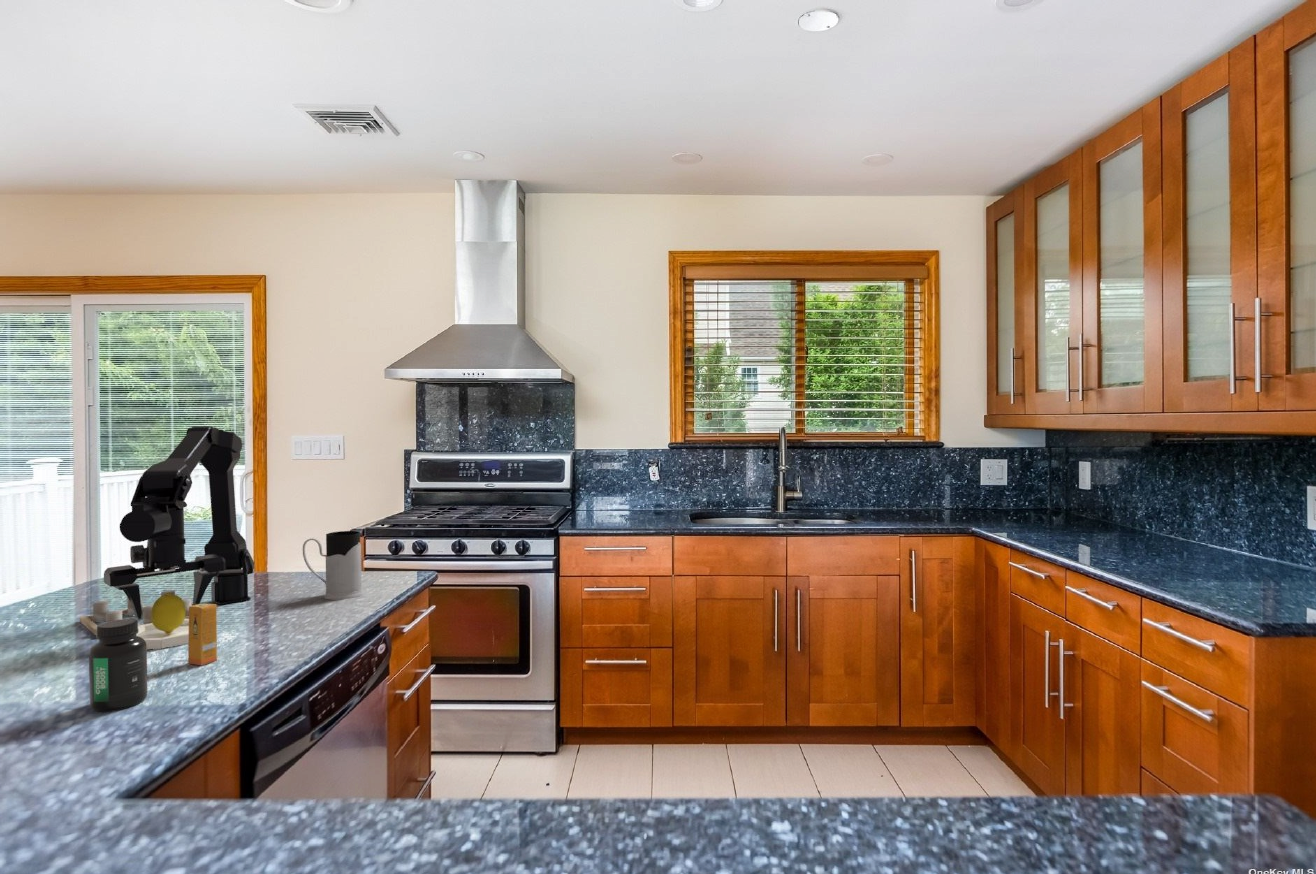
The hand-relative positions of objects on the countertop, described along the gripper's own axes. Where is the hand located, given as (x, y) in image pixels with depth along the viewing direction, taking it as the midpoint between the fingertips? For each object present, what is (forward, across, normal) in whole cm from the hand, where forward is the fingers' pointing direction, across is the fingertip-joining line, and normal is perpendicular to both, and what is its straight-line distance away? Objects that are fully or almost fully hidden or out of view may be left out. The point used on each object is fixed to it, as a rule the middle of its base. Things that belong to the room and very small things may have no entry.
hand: (168, 613), depth 136 cm
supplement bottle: (+5, +14, +32) cm, 35 cm away
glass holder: (+5, -36, -10) cm, 38 cm away
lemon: (+4, 0, 0) cm, 4 cm away
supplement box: (+5, 0, +21) cm, 21 cm away
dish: (+5, 0, 0) cm, 5 cm away
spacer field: (+5, 0, -19) cm, 20 cm away
